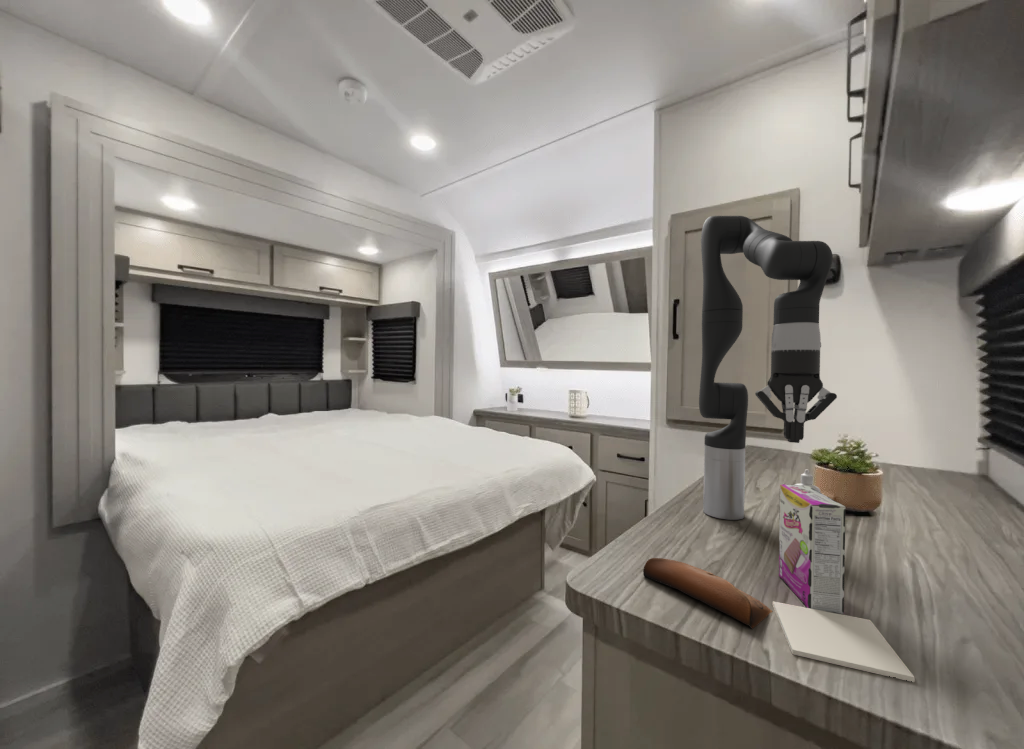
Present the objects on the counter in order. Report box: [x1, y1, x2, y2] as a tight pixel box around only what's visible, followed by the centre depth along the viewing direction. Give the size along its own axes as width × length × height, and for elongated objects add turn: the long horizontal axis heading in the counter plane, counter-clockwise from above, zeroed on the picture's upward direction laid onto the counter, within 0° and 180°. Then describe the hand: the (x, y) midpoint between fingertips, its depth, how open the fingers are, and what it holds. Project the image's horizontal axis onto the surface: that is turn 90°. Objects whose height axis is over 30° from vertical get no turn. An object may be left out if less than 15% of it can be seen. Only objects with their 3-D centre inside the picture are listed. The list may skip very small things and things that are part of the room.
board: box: [772, 600, 916, 683], centre depth 56 cm, size 12×12×1 cm
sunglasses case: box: [642, 557, 773, 630], centre depth 67 cm, size 18×7×7 cm
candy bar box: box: [778, 483, 847, 615], centre depth 67 cm, size 11×5×16 cm, turn 168°
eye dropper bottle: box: [794, 469, 821, 493], centre depth 103 cm, size 4×6×12 cm
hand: (793, 441), depth 77 cm, fingers closed
